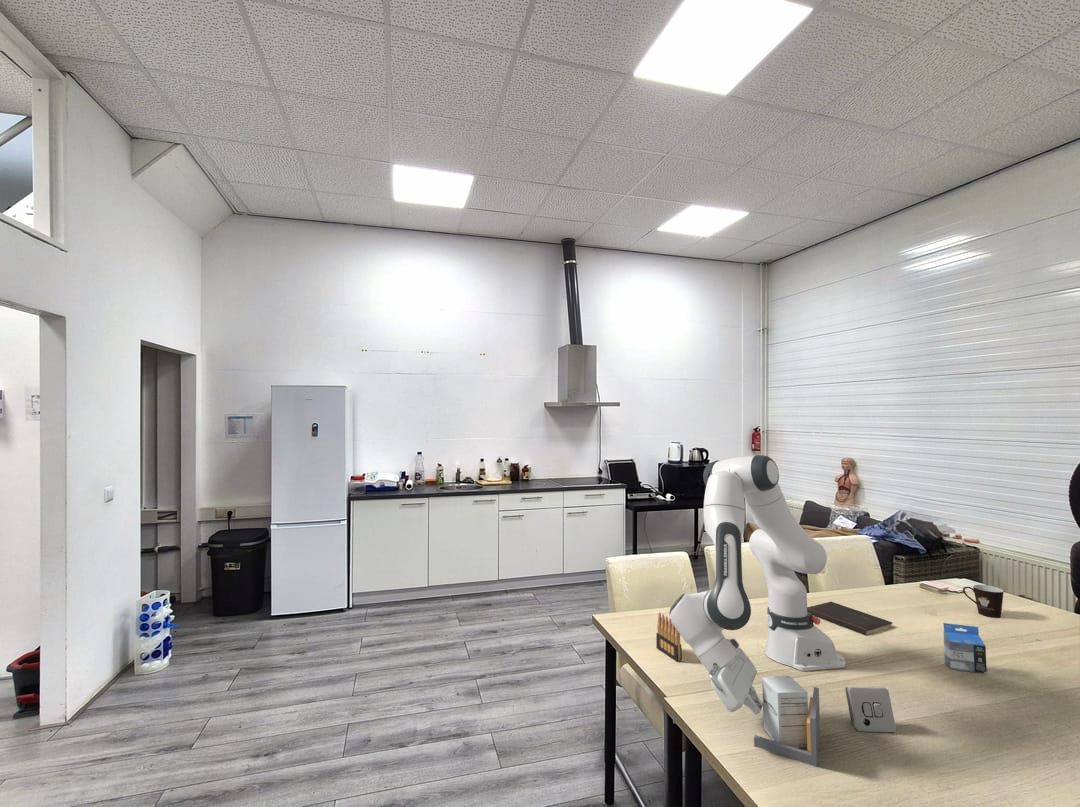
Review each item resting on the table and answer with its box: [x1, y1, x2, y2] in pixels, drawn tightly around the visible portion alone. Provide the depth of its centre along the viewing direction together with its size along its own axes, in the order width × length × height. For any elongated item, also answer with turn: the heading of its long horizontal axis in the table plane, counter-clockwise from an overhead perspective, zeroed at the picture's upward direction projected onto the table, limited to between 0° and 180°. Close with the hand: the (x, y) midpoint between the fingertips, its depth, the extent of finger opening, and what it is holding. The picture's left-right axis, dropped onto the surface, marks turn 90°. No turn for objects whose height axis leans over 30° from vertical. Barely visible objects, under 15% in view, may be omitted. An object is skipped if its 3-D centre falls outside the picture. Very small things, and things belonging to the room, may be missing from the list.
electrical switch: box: [844, 686, 897, 733], centre depth 117 cm, size 9×5×9 cm, turn 86°
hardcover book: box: [807, 601, 893, 636], centre depth 180 cm, size 16×23×2 cm
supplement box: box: [761, 675, 809, 749], centre depth 112 cm, size 7×7×13 cm
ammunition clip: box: [656, 611, 683, 663], centre depth 154 cm, size 11×2×12 cm, turn 24°
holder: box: [753, 686, 821, 768], centre depth 112 cm, size 12×14×10 cm
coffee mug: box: [962, 584, 1004, 619], centre depth 185 cm, size 12×9×10 cm
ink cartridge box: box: [943, 622, 988, 675], centre depth 143 cm, size 9×4×12 cm, turn 70°
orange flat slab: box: [806, 696, 813, 753], centre depth 110 cm, size 1×12×7 cm, turn 147°
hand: (759, 710), depth 115 cm, fingers closed
